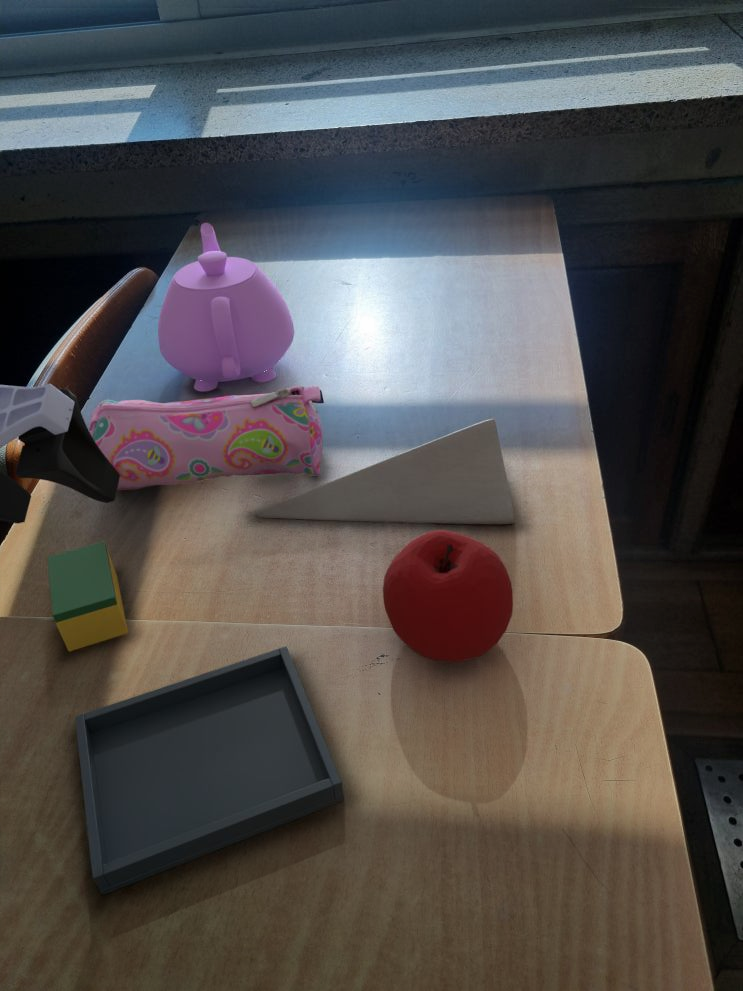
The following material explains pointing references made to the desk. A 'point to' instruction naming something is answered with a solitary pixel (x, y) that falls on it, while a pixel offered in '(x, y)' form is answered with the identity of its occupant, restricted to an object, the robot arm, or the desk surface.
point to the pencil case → (210, 437)
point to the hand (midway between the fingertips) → (67, 499)
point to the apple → (448, 596)
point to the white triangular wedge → (417, 486)
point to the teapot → (223, 319)
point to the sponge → (85, 596)
